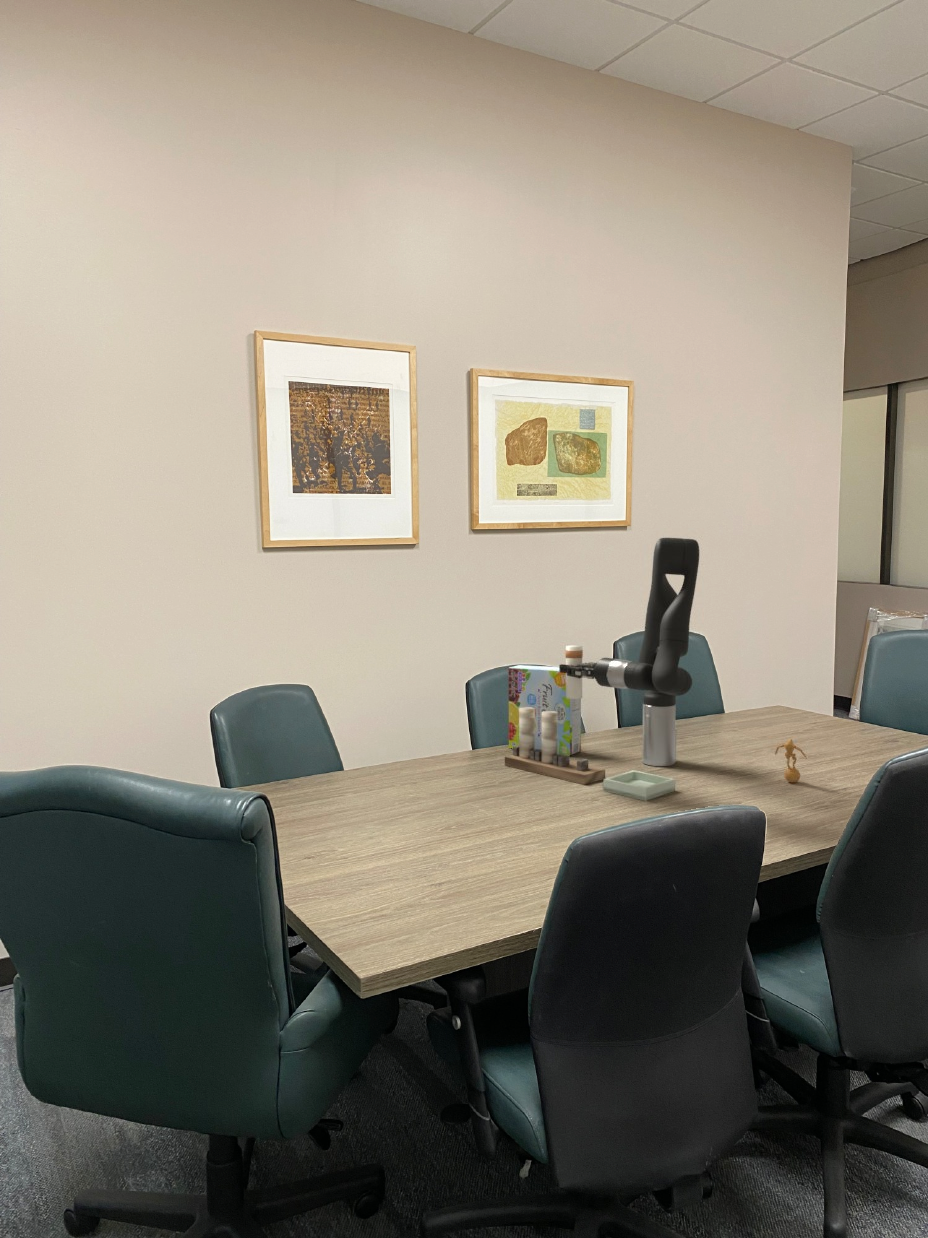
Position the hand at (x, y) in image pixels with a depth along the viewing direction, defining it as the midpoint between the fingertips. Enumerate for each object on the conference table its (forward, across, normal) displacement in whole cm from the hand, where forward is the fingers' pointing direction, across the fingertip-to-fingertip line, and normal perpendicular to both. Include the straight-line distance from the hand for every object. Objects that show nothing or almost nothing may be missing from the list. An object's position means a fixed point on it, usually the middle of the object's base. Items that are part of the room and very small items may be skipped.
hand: (566, 667), depth 239 cm
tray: (-23, -1, +30) cm, 38 cm away
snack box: (+24, -18, +30) cm, 42 cm away
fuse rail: (+5, 0, +30) cm, 30 cm away
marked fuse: (-3, 0, +8) cm, 8 cm away
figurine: (-47, -35, +30) cm, 66 cm away
